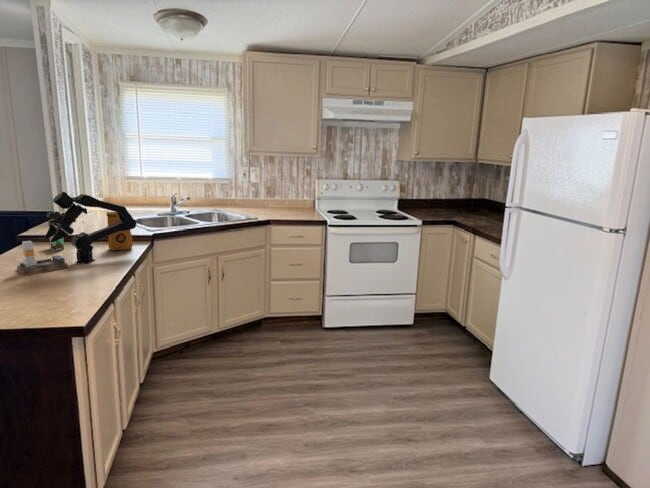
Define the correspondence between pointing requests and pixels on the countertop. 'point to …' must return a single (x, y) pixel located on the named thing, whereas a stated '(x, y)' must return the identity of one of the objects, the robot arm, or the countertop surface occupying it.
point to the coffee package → (118, 235)
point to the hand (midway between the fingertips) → (48, 240)
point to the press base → (44, 266)
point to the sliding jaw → (28, 254)
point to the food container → (57, 244)
